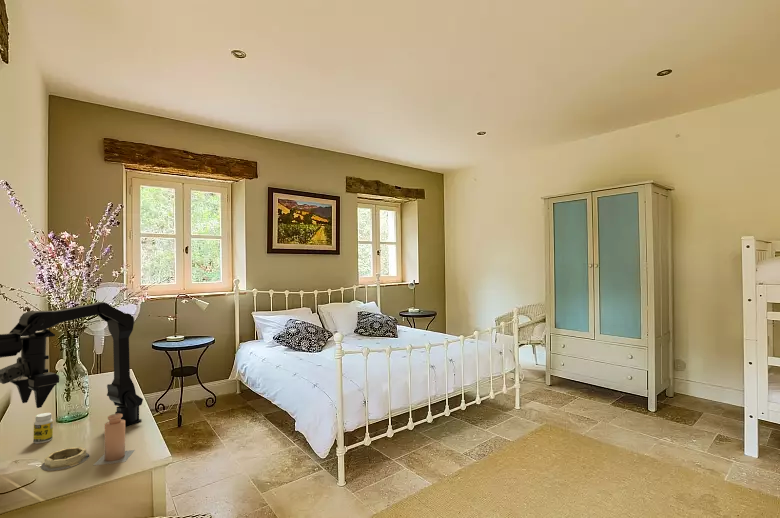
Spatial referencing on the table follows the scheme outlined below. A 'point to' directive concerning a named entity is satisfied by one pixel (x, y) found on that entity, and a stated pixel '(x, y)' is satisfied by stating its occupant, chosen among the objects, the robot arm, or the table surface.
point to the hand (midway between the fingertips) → (31, 405)
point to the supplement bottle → (43, 428)
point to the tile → (124, 459)
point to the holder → (65, 458)
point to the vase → (114, 438)
